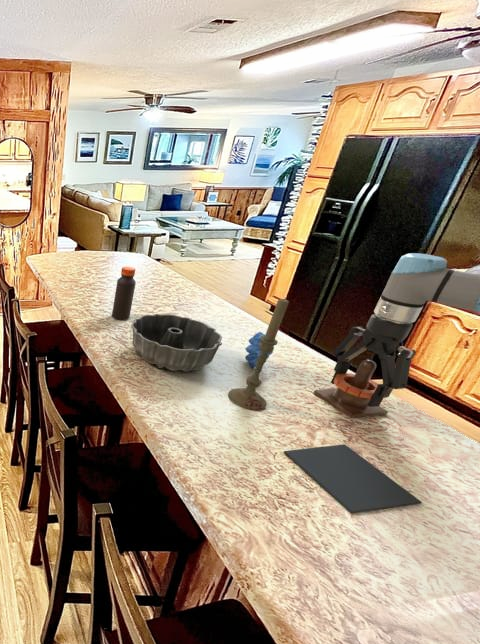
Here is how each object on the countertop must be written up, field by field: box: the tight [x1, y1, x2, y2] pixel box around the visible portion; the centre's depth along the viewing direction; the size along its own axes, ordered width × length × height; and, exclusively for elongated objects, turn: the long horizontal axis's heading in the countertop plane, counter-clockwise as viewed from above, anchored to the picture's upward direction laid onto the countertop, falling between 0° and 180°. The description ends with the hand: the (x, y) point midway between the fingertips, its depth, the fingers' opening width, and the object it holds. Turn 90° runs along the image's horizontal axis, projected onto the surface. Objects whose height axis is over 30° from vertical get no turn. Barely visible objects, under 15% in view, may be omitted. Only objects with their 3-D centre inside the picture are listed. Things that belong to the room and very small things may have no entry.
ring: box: [334, 372, 379, 399], centre depth 102 cm, size 10×10×2 cm
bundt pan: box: [130, 313, 223, 373], centre depth 123 cm, size 26×26×10 cm
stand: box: [313, 359, 389, 419], centre depth 102 cm, size 11×11×14 cm
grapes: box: [244, 331, 274, 369], centre depth 118 cm, size 12×7×12 cm, turn 166°
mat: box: [283, 444, 422, 514], centre depth 81 cm, size 16×16×1 cm
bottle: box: [111, 266, 136, 321], centre depth 149 cm, size 7×7×20 cm
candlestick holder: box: [227, 297, 290, 411], centre depth 98 cm, size 9×9×30 cm
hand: (353, 393), depth 103 cm, fingers closed on ring, 10 cm apart
